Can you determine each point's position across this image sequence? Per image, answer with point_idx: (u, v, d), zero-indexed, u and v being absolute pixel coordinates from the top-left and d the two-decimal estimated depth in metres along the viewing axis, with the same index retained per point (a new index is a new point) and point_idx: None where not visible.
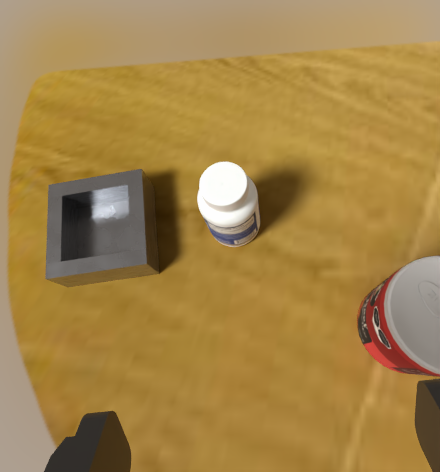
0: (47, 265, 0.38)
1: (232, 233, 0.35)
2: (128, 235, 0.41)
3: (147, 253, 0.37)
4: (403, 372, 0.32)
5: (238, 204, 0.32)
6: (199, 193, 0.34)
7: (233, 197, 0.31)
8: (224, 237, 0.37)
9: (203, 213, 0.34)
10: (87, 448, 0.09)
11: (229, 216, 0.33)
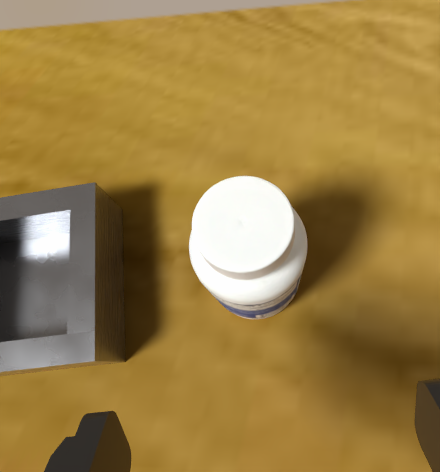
0: None
1: (255, 309, 0.19)
2: None
3: (98, 338, 0.20)
4: None
5: (274, 267, 0.15)
6: (193, 236, 0.17)
7: (264, 255, 0.14)
8: (239, 311, 0.20)
9: (200, 276, 0.17)
10: (87, 448, 0.09)
11: (252, 286, 0.16)
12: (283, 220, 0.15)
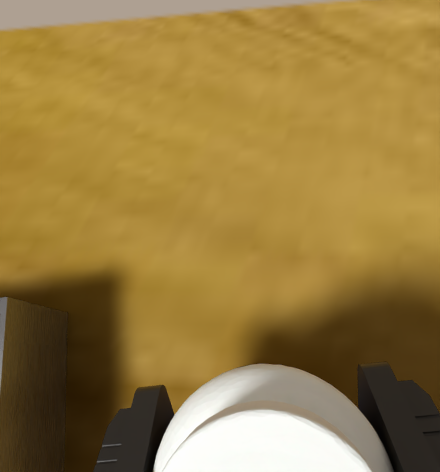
0: None
1: None
2: None
3: None
4: None
5: None
6: None
7: None
8: None
9: None
10: (145, 417, 0.10)
11: None
12: None
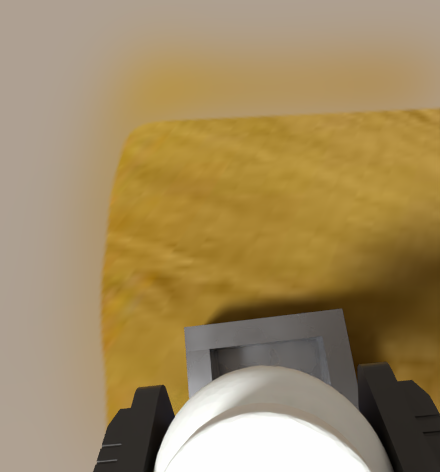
0: None
1: None
2: None
3: None
4: None
5: None
6: None
7: None
8: None
9: None
10: (145, 417, 0.10)
11: None
12: None
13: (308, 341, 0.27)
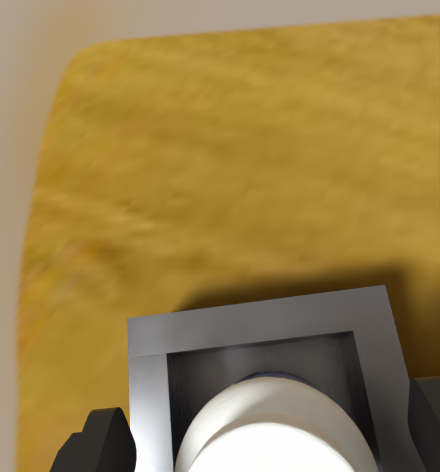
0: None
1: None
2: None
3: None
4: None
5: None
6: None
7: None
8: None
9: None
10: (94, 443, 0.09)
11: None
12: None
13: (325, 340, 0.17)
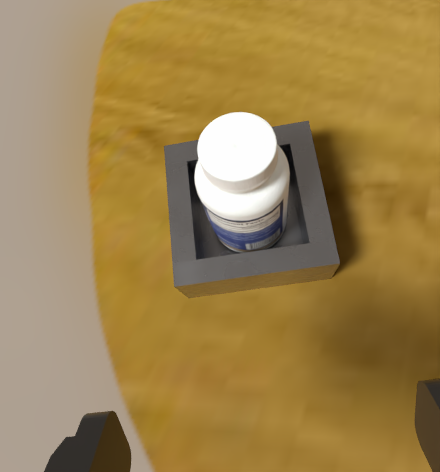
0: (175, 265, 0.24)
1: (244, 231, 0.23)
2: None
3: None
4: None
5: (258, 182, 0.19)
6: (198, 163, 0.22)
7: (251, 169, 0.19)
8: (231, 237, 0.24)
9: (201, 195, 0.21)
10: (87, 448, 0.09)
11: (242, 202, 0.20)
12: (268, 145, 0.19)
13: None
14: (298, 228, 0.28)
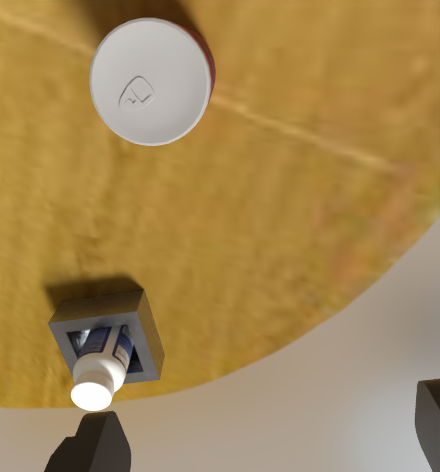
0: (148, 379, 0.46)
1: (128, 361, 0.43)
2: None
3: (127, 310, 0.42)
4: None
5: (109, 383, 0.38)
6: None
7: (104, 392, 0.38)
8: None
9: None
10: (87, 448, 0.09)
11: (117, 380, 0.40)
12: (90, 385, 0.38)
13: None
14: None
